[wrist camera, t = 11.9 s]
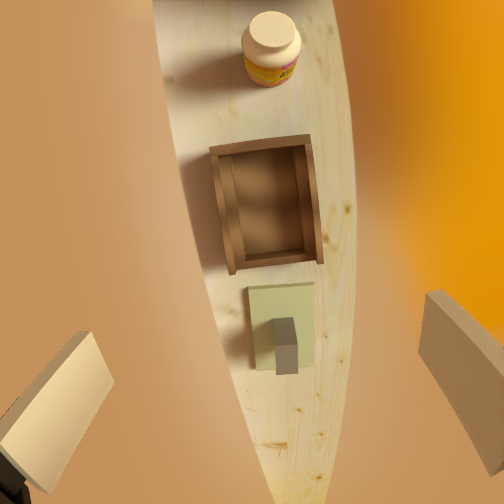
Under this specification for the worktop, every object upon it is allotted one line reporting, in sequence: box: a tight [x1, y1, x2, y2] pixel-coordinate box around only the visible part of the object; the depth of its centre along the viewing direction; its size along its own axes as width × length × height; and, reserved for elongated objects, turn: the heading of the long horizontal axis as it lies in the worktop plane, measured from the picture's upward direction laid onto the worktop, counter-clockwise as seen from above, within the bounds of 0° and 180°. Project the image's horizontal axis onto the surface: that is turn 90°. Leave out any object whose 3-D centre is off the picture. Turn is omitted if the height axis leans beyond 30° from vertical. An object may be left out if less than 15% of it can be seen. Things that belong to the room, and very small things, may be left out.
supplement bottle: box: [241, 11, 301, 87], centre depth 30 cm, size 7×7×13 cm
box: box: [209, 134, 324, 275], centre depth 38 cm, size 16×12×6 cm
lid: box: [248, 282, 315, 375], centre depth 42 cm, size 15×10×9 cm, turn 5°
